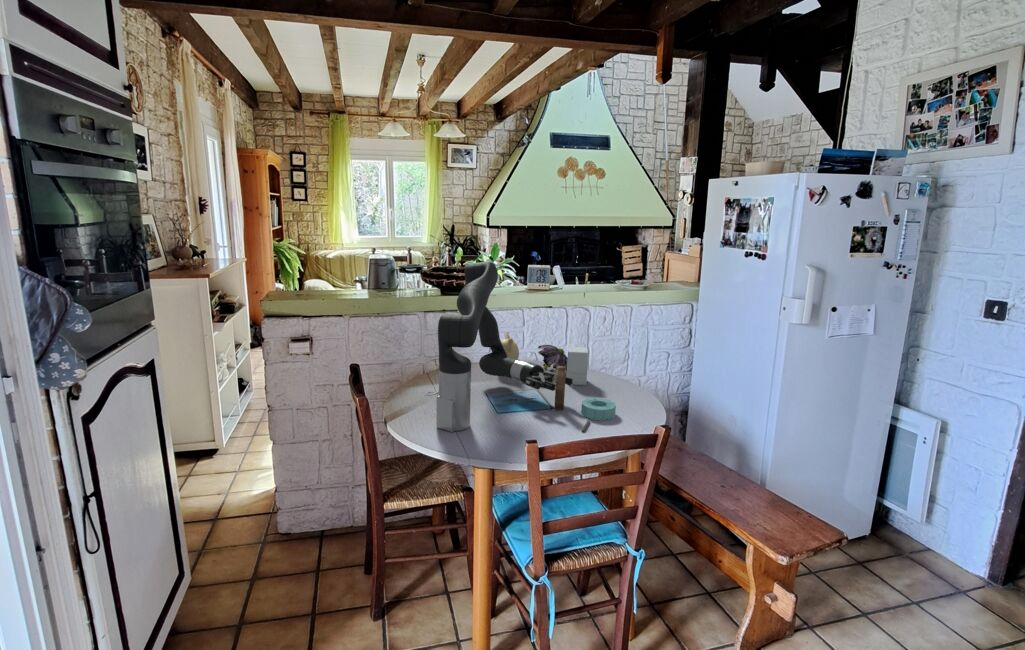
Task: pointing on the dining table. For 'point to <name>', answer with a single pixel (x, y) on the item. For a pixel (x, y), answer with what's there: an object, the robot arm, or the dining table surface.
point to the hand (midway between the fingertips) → (563, 384)
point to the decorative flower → (553, 356)
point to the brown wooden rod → (560, 387)
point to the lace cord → (585, 426)
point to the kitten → (510, 347)
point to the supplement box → (577, 365)
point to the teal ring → (598, 408)
